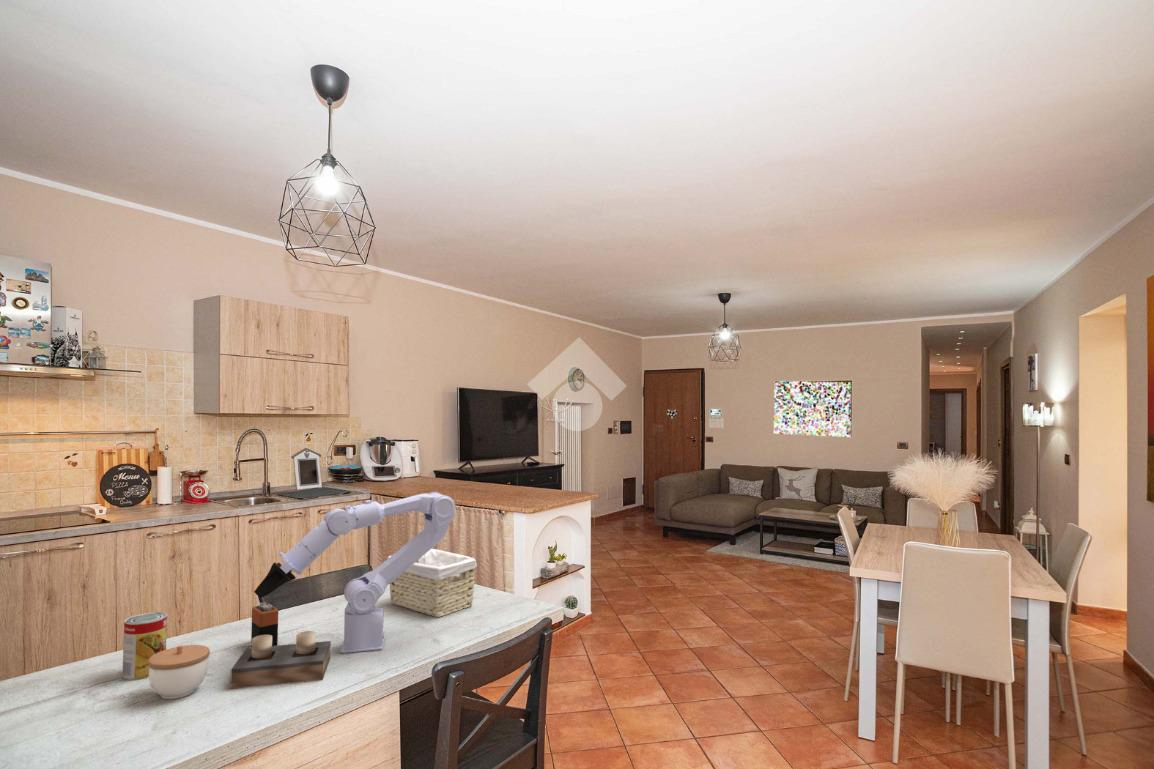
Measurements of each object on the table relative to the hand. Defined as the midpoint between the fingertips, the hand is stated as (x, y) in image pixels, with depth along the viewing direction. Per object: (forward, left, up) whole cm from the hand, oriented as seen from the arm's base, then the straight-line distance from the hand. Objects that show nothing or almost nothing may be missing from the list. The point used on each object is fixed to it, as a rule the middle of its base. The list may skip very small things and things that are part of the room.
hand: (259, 594), depth 141 cm
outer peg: (-2, +6, -12) cm, 14 cm away
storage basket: (-40, -35, -16) cm, 55 cm away
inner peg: (-11, +6, -12) cm, 17 cm away
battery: (+1, -13, -16) cm, 21 cm away
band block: (-7, +6, -16) cm, 18 cm away
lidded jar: (+12, +11, -16) cm, 23 cm away
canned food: (+23, -2, -16) cm, 29 cm away
